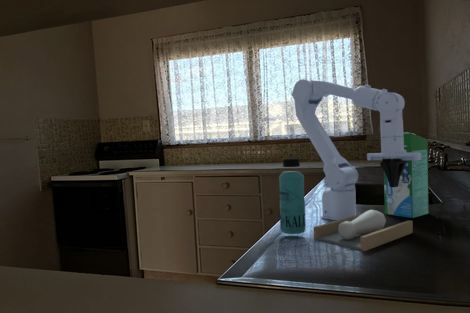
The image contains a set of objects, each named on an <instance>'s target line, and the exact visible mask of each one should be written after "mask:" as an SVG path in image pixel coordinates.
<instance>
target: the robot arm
mask: <svg viewBox="0 0 470 313" xmlns="http://www.w3.org/2000/svg"><path fill="white" fill-rule="evenodd" d="M295 82H296V81H295ZM330 95H331V96H336V97H340V98H343V99H349V100H351V101H352V103H353V105H355V106H357V107H360V108H364V109H369V110H372V111H378V112H379V124H380V125H379V126H380V127H379V128H380V129H379V130H380V150H381V152H375V153H374V152H373V153H371V152H370V153H366V160H367V161H379V165H380V168H382V170H383V173H384V172H385V174H386V176H387V179H388V182H389V186H390V187H398V185H399V180H400V176H401V173H402V171H403V168H404V167H405V165H406V161H404V160H414V161H418V160H421V153H404V137H403V133H404V120H403V110H404V108H405V104H406V102H405V99H404V96H402V95H401V94H398V93H397V92H389V91H388V89H387V88H386V89H385V88H382V89H378V88H373V87H372V86H371V85H369V84H364V85H360V86H358V87H356V88H352V87H349V86H345V85H341V84H338V83H334V82H331V81H324V80H311V79H310V80H308V79H305V78H304V79H303V78H302V79H299V80H298V81H297V82H296V83H295V84H294V86H293V89H292V92H291V96H292V98H293V100H294V109H295V110H294V111H295V116H296V118H297V120H298V121H299V123H300V125H301V127H302V128H303V130H304V132H305V133H306V135H307V137H308V138H309V140H310V141H311V144H312V145H313V147H314V149H315V151H316V152H317V154H318V155H319V157H320V159H321V161H322V162H323V169H322V170H323V172H324V174H325V181H326V184H327V185H328V186H329V188H328V187H327V188H325V189H324V190H323V192H322V195H321V197H322V198H321V202H322V203H321V204H322V205H321V211H322V215H321V216H320V218H321V219H324V220H325V219H326V220H331V221H337V220H341V219H345V218H348V217H352V216H356V215H357V204H356V202H357V201H356V200H357V199H356V186H355V185H356V183H357V182H358V181H359V180H358V179H359V172H358V170H357V168H355V167H354V166H352V165H351V164H350V162H349V161H348V160H347V159H346V158H345V157H343V156H341V154H340V152H339V151H338V149H337V147H336V146H335V144H334V143H333V141H332V139H331V138H330V136H329V134H328V133H327V131H326V130H325V127H324V126H323V124H322V123H321V121H320V120H319V118H318V116H317V115H316V111H317V108H318V107H319V104H320V103H321V101H322V100H323V98H327V97H329V96H330ZM399 136H402V137H399ZM387 157H398V158H387Z"/></svg>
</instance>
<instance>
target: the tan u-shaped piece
mask: <svg viewBox="0 0 470 313" xmlns="http://www.w3.org/2000/svg"><path fill="white" fill-rule="evenodd" d="M361 214H362V213H360V214H356V216H352V217H348V218H345V219H341V220H337V221H336V220H333V221H331V222H326V223H324V224H323V223H322V224H320V225H316V226H313V240H316V241H319V242H325V243H329V244H334V245H337V246H342V247H345V248H346V247H347V248H350V249H354V250H358V251H363V252H367V251H369V250H371V249H373V248H377V247H379V246H382V245H384V244H387V243H390V242H393V241H394V240H398V239H401V238H402V237H403V238H404V237H405V236H408V235H411V234H413V232H414V230H413V228H414V227H413V226H414V224H413V220H406V221H403V222H399V223H397V224H394V225H391V226H388V227H385V228H383V229H382V230H379V231H376V232H373V233H370V234H359V235H356V236H355V237H354V238H353V239H350V240H345V239H343V238H342V237H341V236H340V234H339V231H338V227H339V225H340V223H342V222H345V221H349V222H351V221H353V220H354V219H356V218H357V217H358V216H360V215H361Z"/></svg>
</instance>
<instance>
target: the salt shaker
mask: <svg viewBox="0 0 470 313" xmlns="http://www.w3.org/2000/svg"><path fill="white" fill-rule="evenodd" d="M360 214H361V215H360V216H358V217H357V218H356V219H354V220H353V221H351V222H349V221H345V222H342V223H340V225H339V227H338V231H339V234H340V236H341V237H342V238H343V239H345V240H350V239H353V238H354V237H355V236H356V235H359V234H370V233H373V232H376V231H379V230H382V229H384V227H385V225H386V222H387V219H386V217H385V213H383V212H381V211H378V210H376V209H369V210H368V209H367V210H366V211H364V212H363V213H360Z"/></svg>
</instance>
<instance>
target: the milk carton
mask: <svg viewBox="0 0 470 313" xmlns="http://www.w3.org/2000/svg"><path fill="white" fill-rule="evenodd" d="M399 137H402V136H399ZM403 137H404V153H421V160H418V161H414V160H404V161H406V165H405V167H404V168H403V171H402V173H401V176H400V180H399V185H398V187H390V186H389V182H388V179H387V176H386V174H385V172H384V171H383V180H384V182H383V186H384V187H383V188H384V190H383V192H384V193H383V195H384V215H390V216H391V215H392V216H395V217H396V216H397V217H403V218H407V219H408V218H409V219H413V218H417V217H421V216H422V217H423V216H424V215H428V214H429V164H428V163H429V161H428V159H429V157H428V155H429V152H428V147H429V146H428V139H427V138H425V137H423V136H419V135H417V134H415V133H412V132H403ZM387 158H398V157H387Z"/></svg>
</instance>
